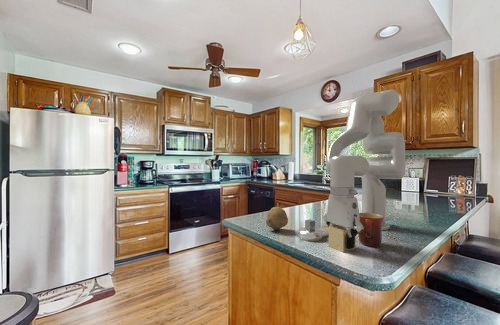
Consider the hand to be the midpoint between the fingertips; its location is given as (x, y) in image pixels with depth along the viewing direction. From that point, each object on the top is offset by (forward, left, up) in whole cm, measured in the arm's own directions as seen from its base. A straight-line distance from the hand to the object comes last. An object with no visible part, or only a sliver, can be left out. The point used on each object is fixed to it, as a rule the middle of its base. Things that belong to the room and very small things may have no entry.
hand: (341, 244), depth 75 cm
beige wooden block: (0, 0, -1) cm, 1 cm away
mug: (-11, +3, -1) cm, 11 cm away
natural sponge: (+8, -26, -1) cm, 27 cm away
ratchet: (-5, -13, -1) cm, 14 cm away
